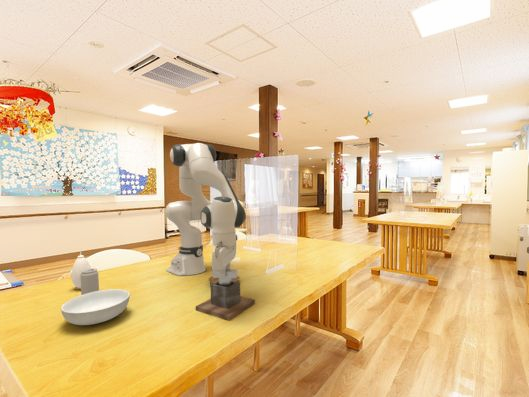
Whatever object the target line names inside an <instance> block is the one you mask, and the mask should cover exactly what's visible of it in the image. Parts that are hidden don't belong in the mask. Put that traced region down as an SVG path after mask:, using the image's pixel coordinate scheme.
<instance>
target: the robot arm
mask: <svg viewBox="0 0 529 397" xmlns="http://www.w3.org/2000/svg"><path fill="white" fill-rule="evenodd" d="M169 158H170V161H171V163H172V164H173V165H174V166H175V167H179V168H178V170H179V173H178V181H179V190H180V192H181V193H182V194H183V195H185V196H187V197H189V198H190V199H191V200H177V201H172V202H169V203H168V204H167V205H166V207H165V216H166V218H167V220H169V221H171V222H172V223H173V224H174V225H175V226H176V227H177V229H178V231H179V235H180V245H181V246H178V247H177V249H178V250H179V251H178V253H177V254H176V255H175V256H174V257H172V259H171V260H170V266H169V267H167V268H166V271H167V272H169V273H170V274H171V273H172V274H174V275H177V276H179V277H180V276H181V277H182V276H191V275H198V274H203V273H205V272H206V270H207V268H206V265H205V258H204V252H203V251H204V246H203V234H202V230H201V229H199V228H198V227H196V226H194V225H192V224H190V222H191V221H200V224H201V225H202V226H203V227H205V228H206V229H209V230H210V229H211V230H212V231H211V235H212V236H211V239H212V243H211V244H212V246H214V248H213V249H212V254H211V269H212V271H220V275H221V278H225V277H226V272H225V269H231V268H230V267H231V262H232V261H233V260H234V259H235V258H236V256H237V241H238V235H237V233H236V232H237V231H236V228H240V227H241V226H242V225H243V224H244V222H245V221H246V219H247V218H246V217H247V214H246V210H245V208H244V206H243V205H242V204H241V203H240V201H239V199H238V197H237V195H236V193H235V190H234V188H233V187H232V185H231V183H230V181H229V179H228V177H227V176H226V174H224V173H222V172H221V171H220V169H219V168H218V167H217V165H216V164H215V162H216V160H217V151H216V148H215V146H214V145H212V144H207V143H206V144H205V143H201V142H196V143H185V144H183V143H182V144H179V143H178V144H174V145H172V147H171V148H170V151H169ZM202 185H203V186H205V187H206V186H207V187H210V188H212V189H215V190H217V191H219V192H220V193H221V195H222V196H216V197H213V198H212V201H210V200H209V199H208V198H206V196H205V195H204V193H203V190H202V189H203V188H202Z"/></svg>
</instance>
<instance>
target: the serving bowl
mask: <svg viewBox="0 0 529 397" xmlns="http://www.w3.org/2000/svg"><path fill="white" fill-rule="evenodd" d="M130 296H131V294H130V292H129V291H128V290H125V289H122V288H121V289H120V288H111V289H110V288H108V289H102V290H100V289H99V291H95V292H91V293H87V294H84V295H78V296H75V297H73V298H71V299H69V300H68V301H65V303H63V304H62V305H61V307H60V311H61V314H62V317H63V318H64V320H66V321H67V322H68V323H70V324H73V325H76V326H91V325H96V324H100V323H104V322H107V321H110V320H112V319H113V318H115V317H117V316H119V315H120V314H122V312H124V310H125V309H126V308H127V306H128V305H129V302H130Z"/></svg>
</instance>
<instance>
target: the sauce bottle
mask: <svg viewBox="0 0 529 397" xmlns="http://www.w3.org/2000/svg"><path fill="white" fill-rule="evenodd" d="M86 269H92V268H91V265H90V263H89V261H88V260H87V258H85V255H83V254H82V250H81V249H80V250H79V255H78V256H77V258H76V259H75V261H74V263H73V265H72V268H71V282H72V284H73V285H74V287H76V288H77V289H80V290H81V278H80V275H81V271H83V270H86Z"/></svg>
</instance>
